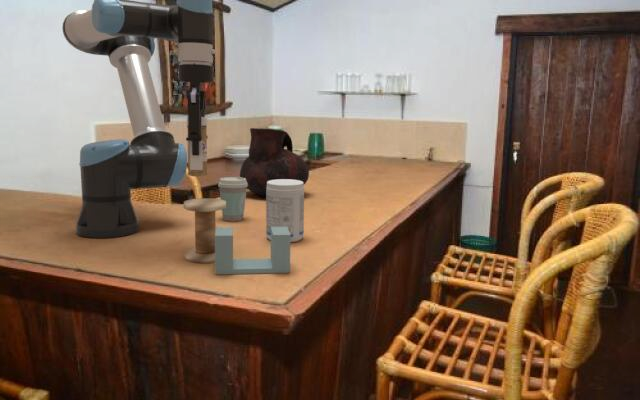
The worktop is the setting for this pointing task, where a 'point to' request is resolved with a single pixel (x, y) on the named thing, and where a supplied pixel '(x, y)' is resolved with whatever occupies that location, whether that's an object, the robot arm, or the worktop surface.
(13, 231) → the worktop surface
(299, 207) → the supplement tub
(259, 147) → the jug
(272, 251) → the blue-grey u-shaped block
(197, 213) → the bobbin
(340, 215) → the worktop surface
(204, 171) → the sprinkles bottle
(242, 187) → the coffee cup
